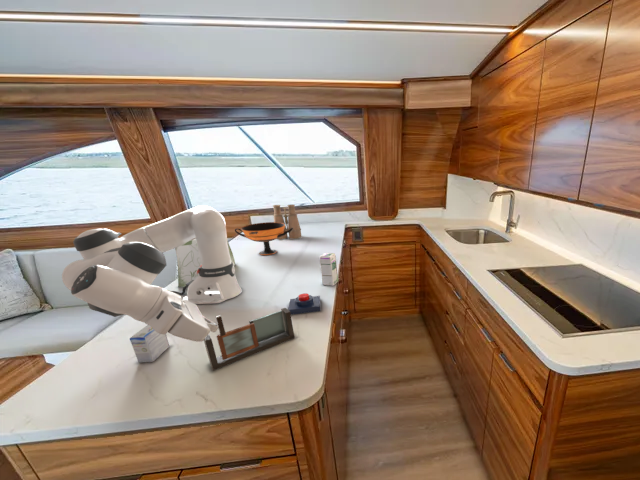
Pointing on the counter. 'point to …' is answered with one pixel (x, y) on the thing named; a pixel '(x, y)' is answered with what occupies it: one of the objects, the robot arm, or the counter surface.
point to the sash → (236, 339)
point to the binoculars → (288, 221)
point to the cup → (264, 234)
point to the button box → (304, 305)
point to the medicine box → (148, 344)
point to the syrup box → (328, 269)
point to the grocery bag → (190, 262)
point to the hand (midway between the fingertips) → (215, 328)
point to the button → (303, 297)
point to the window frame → (258, 337)
